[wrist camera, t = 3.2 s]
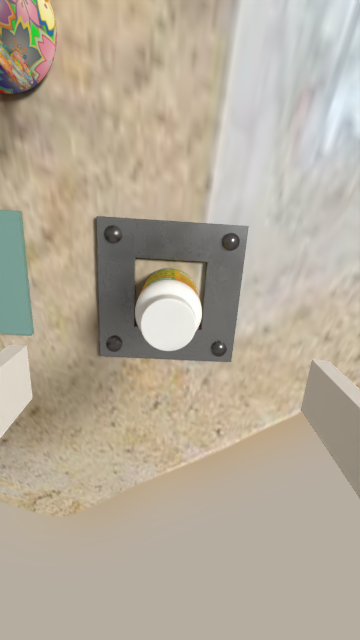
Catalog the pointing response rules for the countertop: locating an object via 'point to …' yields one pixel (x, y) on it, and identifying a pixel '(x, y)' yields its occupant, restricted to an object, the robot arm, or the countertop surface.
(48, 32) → the mug
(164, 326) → the supplement bottle
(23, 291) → the mat
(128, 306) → the flange plate
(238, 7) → the countertop surface
